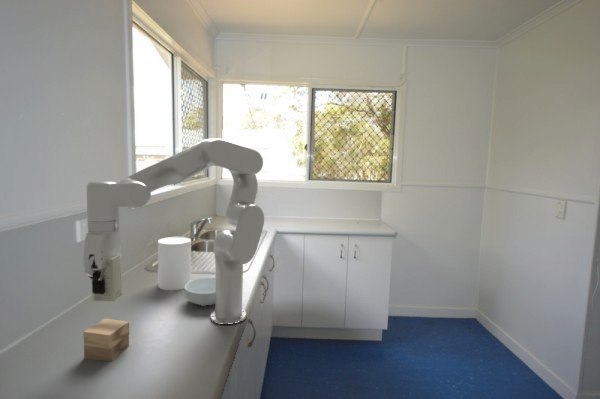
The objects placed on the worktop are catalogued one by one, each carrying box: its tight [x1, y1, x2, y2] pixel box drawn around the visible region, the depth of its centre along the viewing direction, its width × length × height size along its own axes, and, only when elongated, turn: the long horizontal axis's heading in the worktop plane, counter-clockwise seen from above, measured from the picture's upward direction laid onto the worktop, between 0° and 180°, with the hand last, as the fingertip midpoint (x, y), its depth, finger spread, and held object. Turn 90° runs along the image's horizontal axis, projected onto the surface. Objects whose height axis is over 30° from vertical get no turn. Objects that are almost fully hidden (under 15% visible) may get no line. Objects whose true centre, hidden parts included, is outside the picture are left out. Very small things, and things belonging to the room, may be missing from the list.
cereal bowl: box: [183, 277, 215, 307], centre depth 132 cm, size 17×17×7 cm
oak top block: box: [82, 318, 130, 349], centre depth 96 cm, size 8×8×4 cm
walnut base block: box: [83, 334, 130, 362], centre depth 96 cm, size 8×8×4 cm
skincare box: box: [91, 255, 123, 302], centre depth 94 cm, size 6×4×12 cm
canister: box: [157, 236, 192, 291], centre depth 147 cm, size 14×14×20 cm
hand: (105, 288), depth 94 cm, fingers closed on skincare box, 4 cm apart
